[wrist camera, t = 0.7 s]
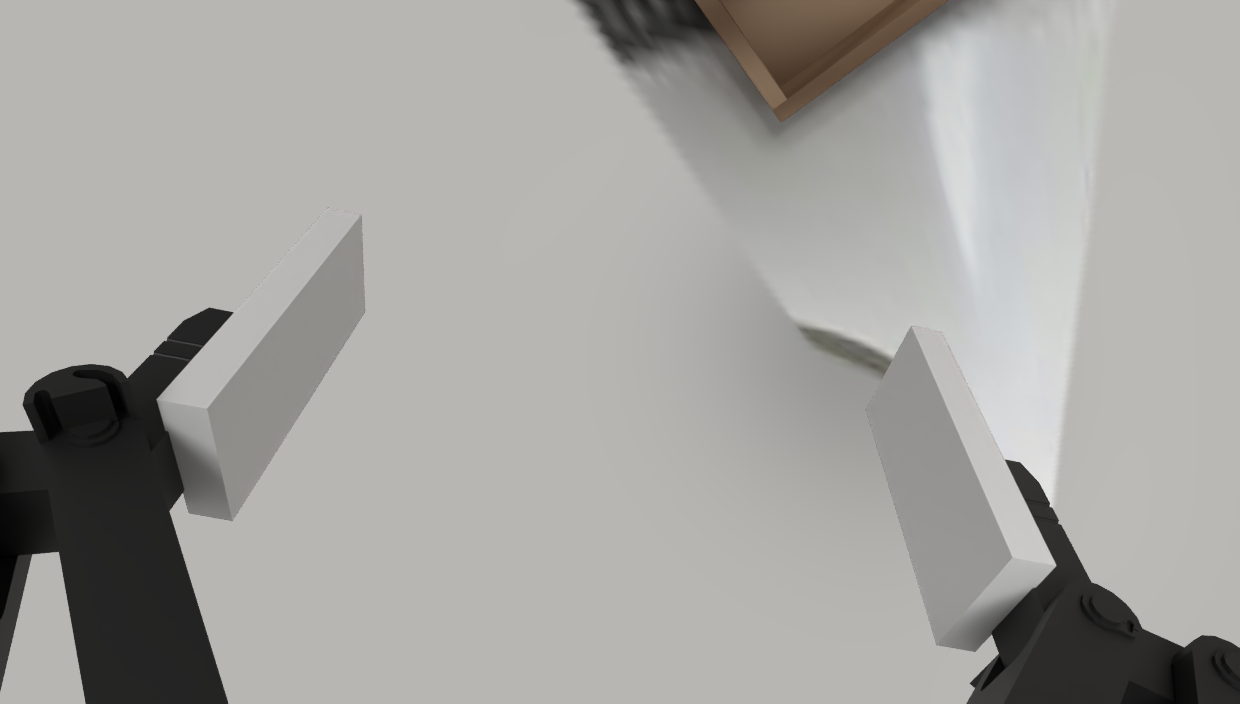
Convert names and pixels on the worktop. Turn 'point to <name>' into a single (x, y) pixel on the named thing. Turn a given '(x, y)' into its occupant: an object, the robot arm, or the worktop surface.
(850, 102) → the worktop surface
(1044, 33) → the worktop surface
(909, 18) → the walnut tray
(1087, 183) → the worktop surface
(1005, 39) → the worktop surface
